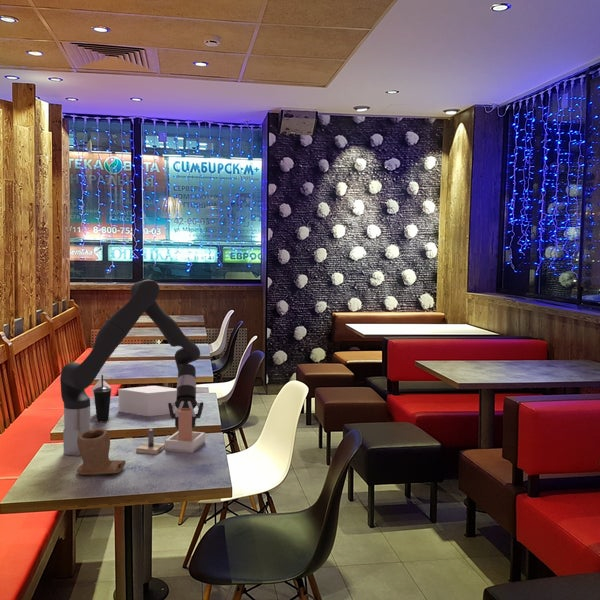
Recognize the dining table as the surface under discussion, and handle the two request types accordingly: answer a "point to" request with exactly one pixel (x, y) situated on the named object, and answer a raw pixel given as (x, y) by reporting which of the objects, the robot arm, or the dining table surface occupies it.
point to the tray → (185, 443)
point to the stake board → (150, 448)
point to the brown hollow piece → (97, 453)
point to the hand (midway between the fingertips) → (185, 427)
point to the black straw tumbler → (99, 384)
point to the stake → (150, 438)
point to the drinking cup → (102, 402)
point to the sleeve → (185, 424)
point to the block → (147, 400)
